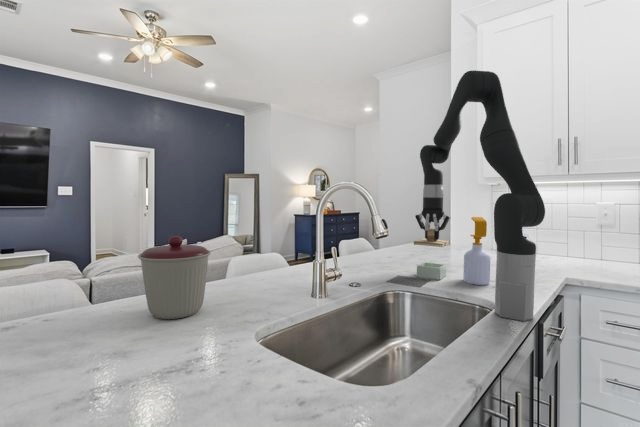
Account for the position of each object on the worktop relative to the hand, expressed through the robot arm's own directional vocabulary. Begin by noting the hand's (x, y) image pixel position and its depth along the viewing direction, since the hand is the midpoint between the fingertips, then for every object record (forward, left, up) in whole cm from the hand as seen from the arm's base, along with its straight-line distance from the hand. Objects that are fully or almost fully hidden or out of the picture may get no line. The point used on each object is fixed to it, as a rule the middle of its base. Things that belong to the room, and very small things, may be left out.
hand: (432, 240), depth 136 cm
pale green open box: (0, 0, -15) cm, 15 cm away
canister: (-82, +45, -15) cm, 95 cm away
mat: (-12, +5, -15) cm, 20 cm away
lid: (0, 0, -2) cm, 2 cm away
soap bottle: (+2, -16, -15) cm, 22 cm away
